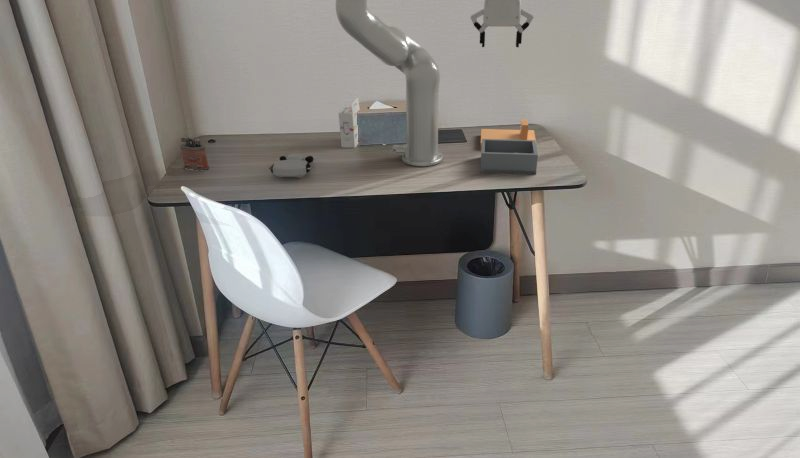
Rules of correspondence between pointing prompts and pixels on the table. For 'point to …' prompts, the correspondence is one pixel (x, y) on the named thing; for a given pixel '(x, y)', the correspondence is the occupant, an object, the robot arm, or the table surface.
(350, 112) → the ink cartridge box
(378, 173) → the table surface
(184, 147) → the lighter
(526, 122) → the lid
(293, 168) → the robot toy
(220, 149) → the table surface
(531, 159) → the tub
